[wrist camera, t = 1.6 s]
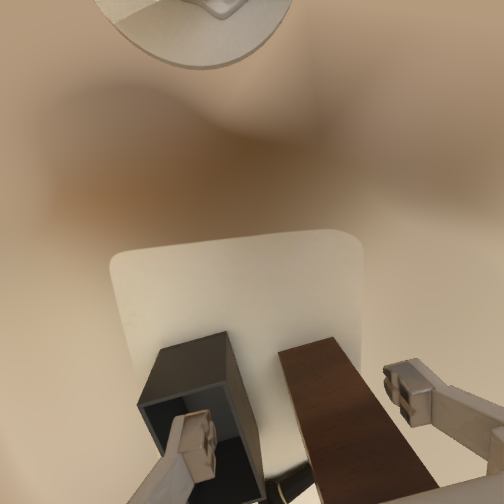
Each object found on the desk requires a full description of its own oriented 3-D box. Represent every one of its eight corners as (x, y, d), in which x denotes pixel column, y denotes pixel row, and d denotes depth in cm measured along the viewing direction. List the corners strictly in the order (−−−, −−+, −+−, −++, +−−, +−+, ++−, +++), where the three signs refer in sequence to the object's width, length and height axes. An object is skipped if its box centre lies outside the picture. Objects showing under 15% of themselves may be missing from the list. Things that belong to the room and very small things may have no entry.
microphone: (332, 427, 51) (252, 483, 50) (344, 447, 45) (253, 510, 44) (346, 451, 51) (266, 507, 49) (359, 473, 45) (269, 538, 44)
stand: (277, 352, 42) (360, 623, 16) (333, 336, 42) (504, 577, 16) (289, 396, 44) (376, 691, 18) (341, 381, 45) (499, 651, 19)
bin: (160, 349, 39) (136, 405, 29) (226, 330, 40) (225, 379, 29) (200, 446, 45) (192, 521, 35) (258, 429, 46) (266, 499, 35)
